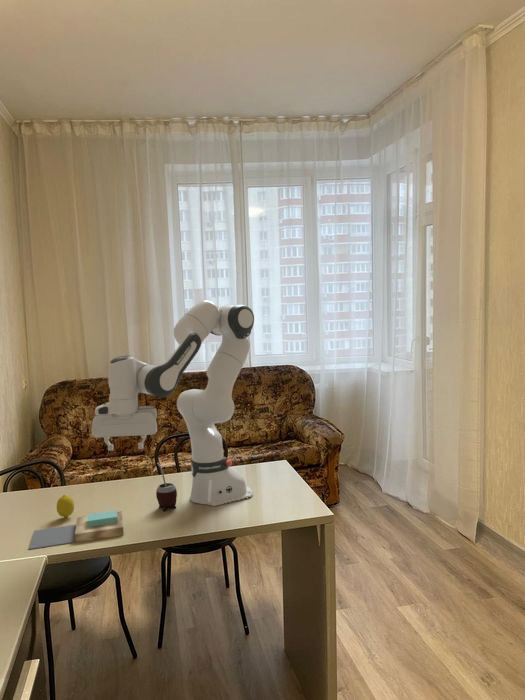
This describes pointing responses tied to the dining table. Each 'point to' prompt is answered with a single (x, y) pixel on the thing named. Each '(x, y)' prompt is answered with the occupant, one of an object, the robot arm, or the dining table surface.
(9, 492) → the dining table surface
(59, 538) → the mat
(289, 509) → the dining table surface
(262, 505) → the dining table surface
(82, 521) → the deck
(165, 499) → the mate gourd
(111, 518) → the turquoise sponge
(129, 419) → the robot arm
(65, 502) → the lemon
